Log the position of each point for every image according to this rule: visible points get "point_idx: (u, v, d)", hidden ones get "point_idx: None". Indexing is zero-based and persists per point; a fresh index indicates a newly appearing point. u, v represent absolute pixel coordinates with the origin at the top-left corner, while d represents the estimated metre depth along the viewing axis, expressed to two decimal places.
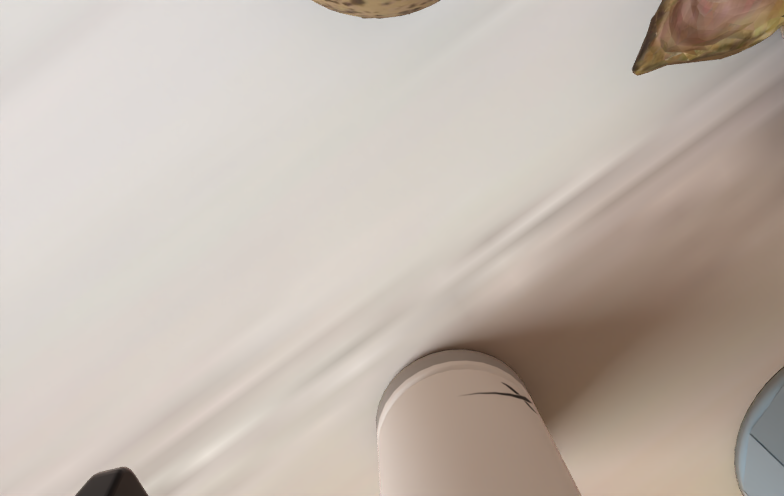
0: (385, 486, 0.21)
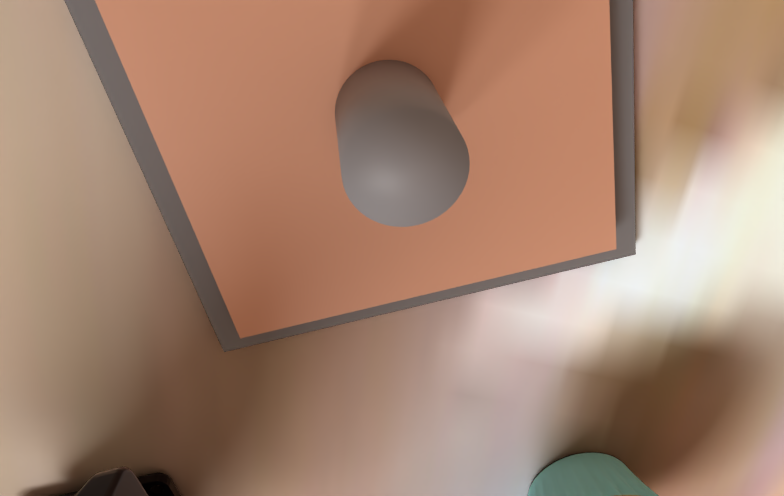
0: None
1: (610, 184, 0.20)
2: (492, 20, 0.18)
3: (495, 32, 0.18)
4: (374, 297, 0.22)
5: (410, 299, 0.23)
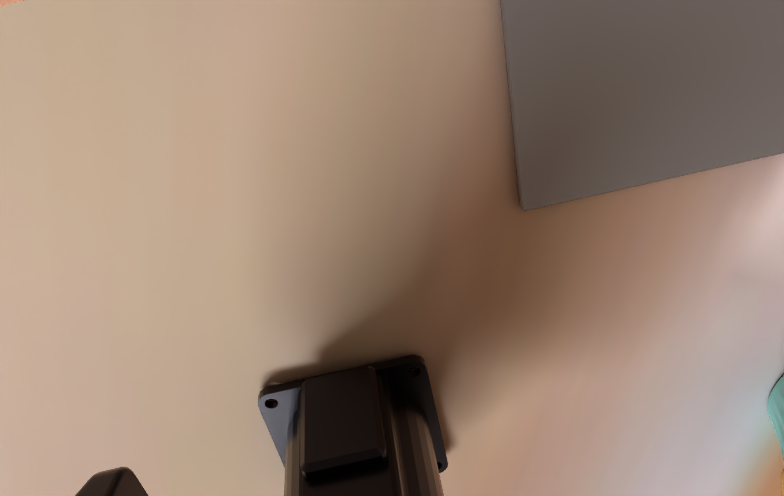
0: None
1: None
2: None
3: None
4: None
5: (728, 155, 0.21)
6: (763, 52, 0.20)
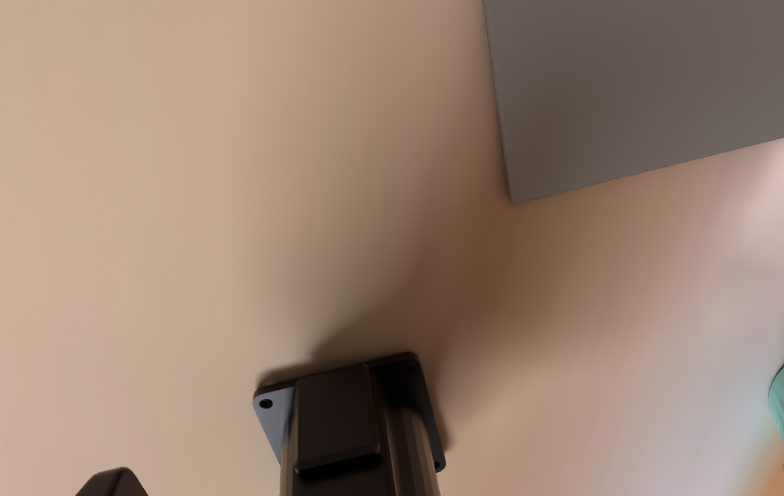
0: None
1: None
2: None
3: None
4: None
5: (717, 144, 0.21)
6: (747, 39, 0.20)
